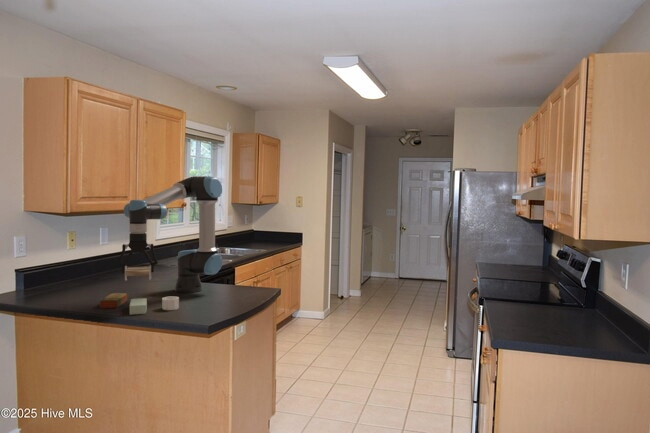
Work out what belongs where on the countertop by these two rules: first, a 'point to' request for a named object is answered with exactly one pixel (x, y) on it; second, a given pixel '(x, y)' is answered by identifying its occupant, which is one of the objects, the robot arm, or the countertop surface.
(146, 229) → the robot arm
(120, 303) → the carton
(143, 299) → the green stand
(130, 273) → the maple board
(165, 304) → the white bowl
